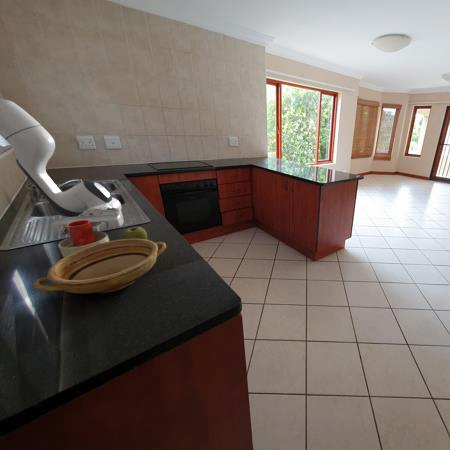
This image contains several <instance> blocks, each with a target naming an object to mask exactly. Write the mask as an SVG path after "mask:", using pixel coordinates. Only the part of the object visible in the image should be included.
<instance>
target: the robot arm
mask: <svg viewBox="0 0 450 450" xmlns="http://www.w3.org/2000/svg"><path fill="white" fill-rule="evenodd" d="M0 136H1V137H2V138H3V139H4V140H5V141H6V142H7V143H8V144H9V145H10V146H11V148H12V149H13V151H14V152H15V156H16V164H17V166H18V168H20V170H21V172H22V173H23V174H24V175H25V176H26V177H27V179H29V181H30V182H31V183H32V184H33V185H34V186H35V188H36V189H37V190H38V191H39V192H40V194H41V195H42V196H43V197H44V198H45V199H46V200H47V202H48V204H49V205H50V207H51V209H52V210H53V211H54V212H55V213H56V214H57V215H58V216H61V217H62V218H60V219H58V220H56V221H53V222H52V223H51V224H50V227H51V230H52V231H53V232H54V233H55V234H59V235H60V236H65V235H68V234H69V231H68V229H67V226H66V225H67V224H69V223H71V222H75V221H80V220H88V221H90V224H91V227H92V230H93V232H101V231H103V230H106V229H117V228H120V227H122V226H123V225H124V223H125V220H124V219H125V218H124V215H123V212H122V203H121V202H120V201H119V200H118V199H117V198H115V197H112V194H111V192H110V191H109V190H108V188H107V187H105V185H103V184H102V183H100V182H98V181H95V180H91V179H85V180H83V181H81V182H79V183H77V184H75V185H73V186H72V187H70V188H68V189H67V190H64V191H62V190H61V189H60V188H59V187H58V186H57V184H56V183H55V182H54V181H53V179H52V178H51V177H50V176H49V174H48V173H47V168H46V167H47V164H48V162H49V161H50V159H51V158H52V156H53V155H54V153H55V150H56V142H55V139H54V137H53V136H52V135H51V134H50V132H49V131H48V130H46V128H45V127H44V126H42V124H41V123H39V121H37V120H36V119H35V118H34V117H33V116H32V115H30V114H29V113H28V112H27V111H26V110H25V109H24V108H22V107H21V106H19V105H18V104H17V103H15V102H14V101H12V100H9V99H6V98H5V99H4V98H0Z"/></svg>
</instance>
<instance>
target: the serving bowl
mask: <svg viewBox="0 0 450 450" xmlns="http://www.w3.org/2000/svg"><path fill="white" fill-rule="evenodd" d="M93 232H94V231H93ZM94 235H95V238H96V241H97V242H95V243H92V244H88V245H84V246H79V247H74V244H73V242H72V239H71V237H70V236H69V237H67V238H65V239H63V240H61V241H59V242H58V243H57V244H58V245H57V247H58V249H59V252H60V254H61V256H62V257H63V258H64V257H66V256H68V255H70V254H72V253H74V252H76V251H79V250H81V249H84V248H87V247H90V246H93V245H96V244H100V243H104V242H109V241H111V240H110V238H109V235H108V233H107V232H104V231H99V232H94Z"/></svg>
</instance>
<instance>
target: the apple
mask: <svg viewBox="0 0 450 450" xmlns="http://www.w3.org/2000/svg"><path fill="white" fill-rule="evenodd" d="M121 239H145V240H148V233H147V231H146V230H145V228H143V227H141V226H131V227H128V228H127V229H125V230H123V232H122V234H121Z"/></svg>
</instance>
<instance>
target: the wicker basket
mask: <svg viewBox="0 0 450 450" xmlns="http://www.w3.org/2000/svg"><path fill="white" fill-rule="evenodd" d="M160 246H161V248H160V249H159V247H160ZM166 249H167V244H166V243H165V242H164V241H156V242H154V241H152V240H150V239H147V240H145V239H122V238H121V239H115V240H110V241H109V242H104V243H100V244H96V245H93V246H90V247H87V248H84V249H81V250H79V251H76V252H74V253H72V254H70V255H68V256H66V257H63V258H61V259H59V260H58V261H56V262H55V263H54V264H53V265H52V266H51V267H50V268H49V269H48V270H47V276H43V277H40V278H38V279H36V280H35V281H34V283H33V287H34V288H35V289H36V290H38V291H42V292H58V291H59V292H60V291H61V292H62V291H64V292H67V293H71V294H77V295H93V294H106V293H112V292H116V291H120V290H123V289H125V288H127V287H128V286H130V285H133V283H135V282H136V281H137V280H139V279H141V278H142V277H144V276H146V274H147V273H149V272H150V270H151V269H152V268H153V267H154V265H155V264H156V262H157V258H158V257H159V256H161V255H162V254H163V253H164V252H165V251H166ZM49 282H53V284H54V285H45V283H49ZM43 284H44V285H43Z"/></svg>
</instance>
